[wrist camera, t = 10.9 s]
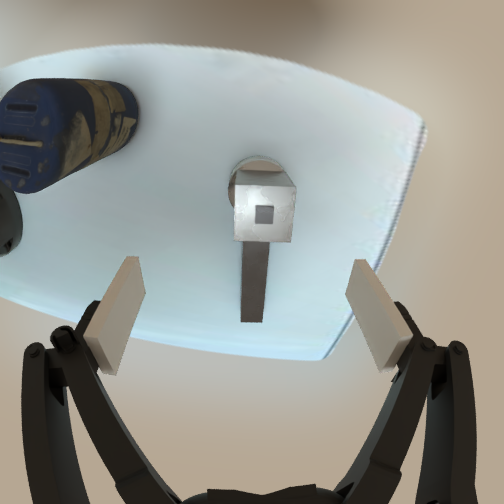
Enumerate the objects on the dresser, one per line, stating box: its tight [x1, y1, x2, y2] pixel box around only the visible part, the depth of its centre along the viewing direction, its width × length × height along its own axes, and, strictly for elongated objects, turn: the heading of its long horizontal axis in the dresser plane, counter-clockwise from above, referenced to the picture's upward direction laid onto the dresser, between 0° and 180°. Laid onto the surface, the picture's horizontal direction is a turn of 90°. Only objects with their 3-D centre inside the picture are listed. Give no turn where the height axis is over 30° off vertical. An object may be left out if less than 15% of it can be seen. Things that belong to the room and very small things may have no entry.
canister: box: [0, 78, 138, 194], centre depth 20 cm, size 10×10×18 cm
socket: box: [234, 169, 296, 242], centre depth 27 cm, size 5×5×7 cm
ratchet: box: [228, 156, 284, 323], centre depth 34 cm, size 7×24×7 cm, turn 177°
